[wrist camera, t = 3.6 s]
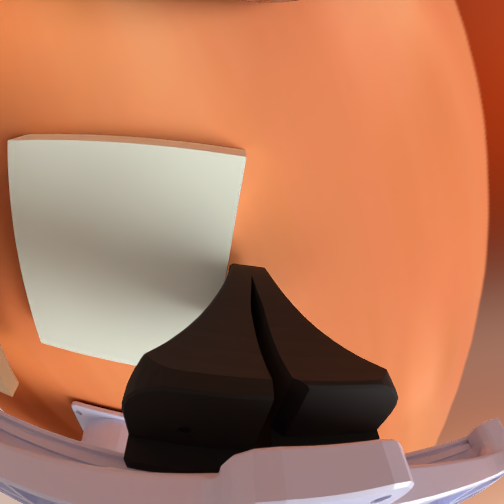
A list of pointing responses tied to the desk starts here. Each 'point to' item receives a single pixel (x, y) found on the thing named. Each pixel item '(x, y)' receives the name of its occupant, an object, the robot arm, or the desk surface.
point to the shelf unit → (7, 376)
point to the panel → (120, 236)
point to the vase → (269, 0)
